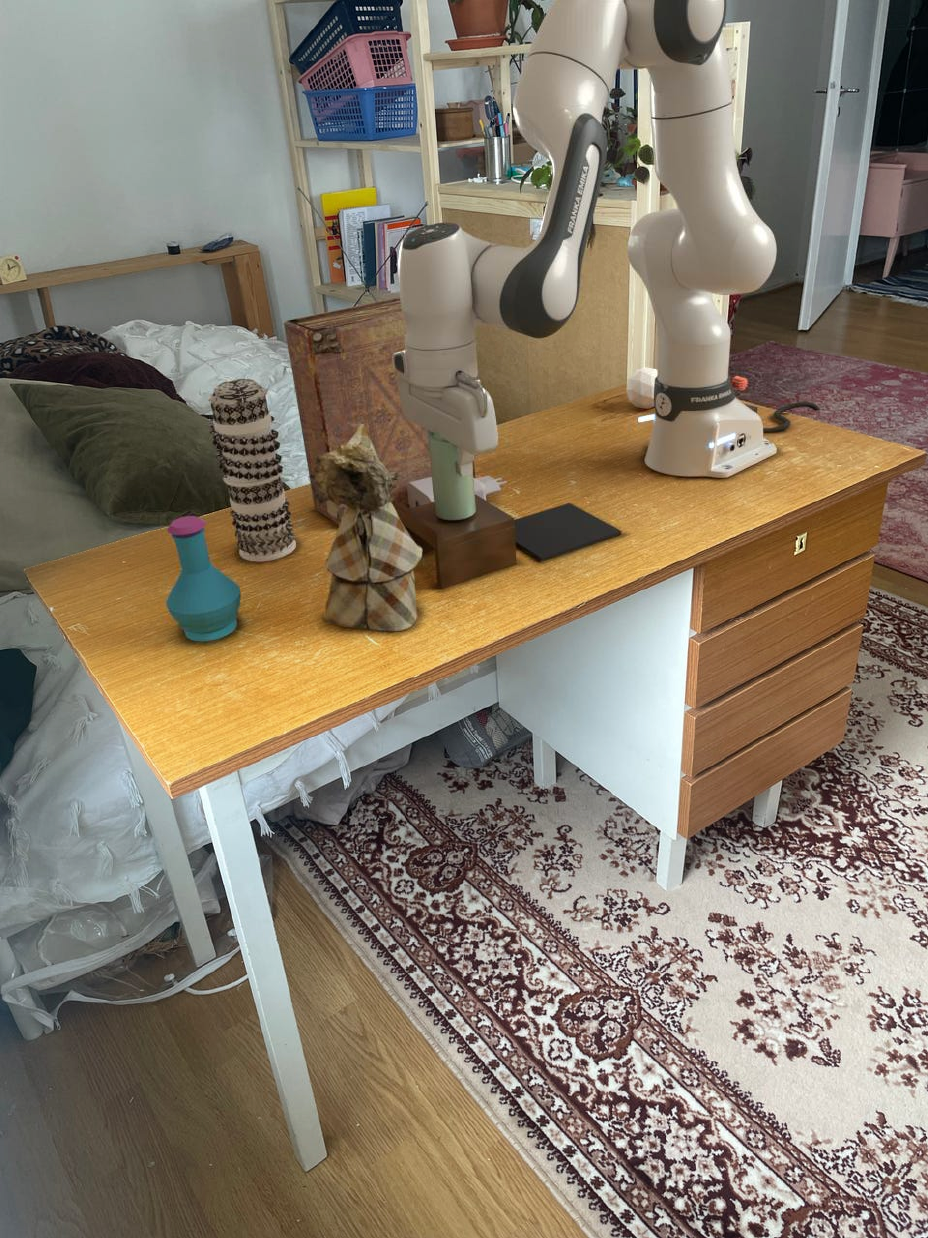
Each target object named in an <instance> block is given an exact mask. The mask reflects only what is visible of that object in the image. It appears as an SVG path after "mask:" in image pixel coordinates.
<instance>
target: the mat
mask: <svg viewBox="0 0 928 1238" xmlns="http://www.w3.org/2000/svg"><path fill="white" fill-rule="evenodd" d="M514 520H515V541H516V547H518V548H519V549H520V550H522V551H524V552H525V553H527V554H529V555H530V556H532V557H533V558H535V559H536V560H537V561H538V562H544V561H547V560H550V559H553V558H556V557H559V556H561V555H565V554H568V553H571V552H574V551H576V550H580V549H582V548H583V549H584V548H586V547H588V546H591V545H595V544H598V543H600V542H603V541H606V540H610V539H612V538H615V537H619V536H622V530H620V529H619V528H617V527H614V526H613V525H611V524H610V523H608V522H606V521H604V520H602V519H601V518H598V517H596V516H595V515H593V514H591V513H590V512H588V511H586V510H584V509H581V508H580V507H578V506H576V505H574V504H573V503H571V502H567V503H565V504H561V505H558V506H557V505H556V506H554V507H551V508H547V509H545V510H541V511H539V512H536V513H532V514H528V515H525V516H522V517H520V518H516V519H514Z"/></svg>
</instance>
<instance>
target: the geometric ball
mask: <svg viewBox="0 0 928 1238" xmlns="http://www.w3.org/2000/svg"><path fill="white" fill-rule="evenodd" d="M657 371H658V369H656V368H652V367H646V366H643V367H641V368H639V369H636V370H634V371H633V372H632V373H631V375H630V376H629V377H628V379H627V381H626V388H625V391H626V395H627V398H628V399H627V400H628V401H629V402H630V403H631V404H632V405H634V406H635V407H636V408H639V409H645V410H650V409H651V408H655V405H654V383H655V378H656V377H657Z"/></svg>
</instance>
